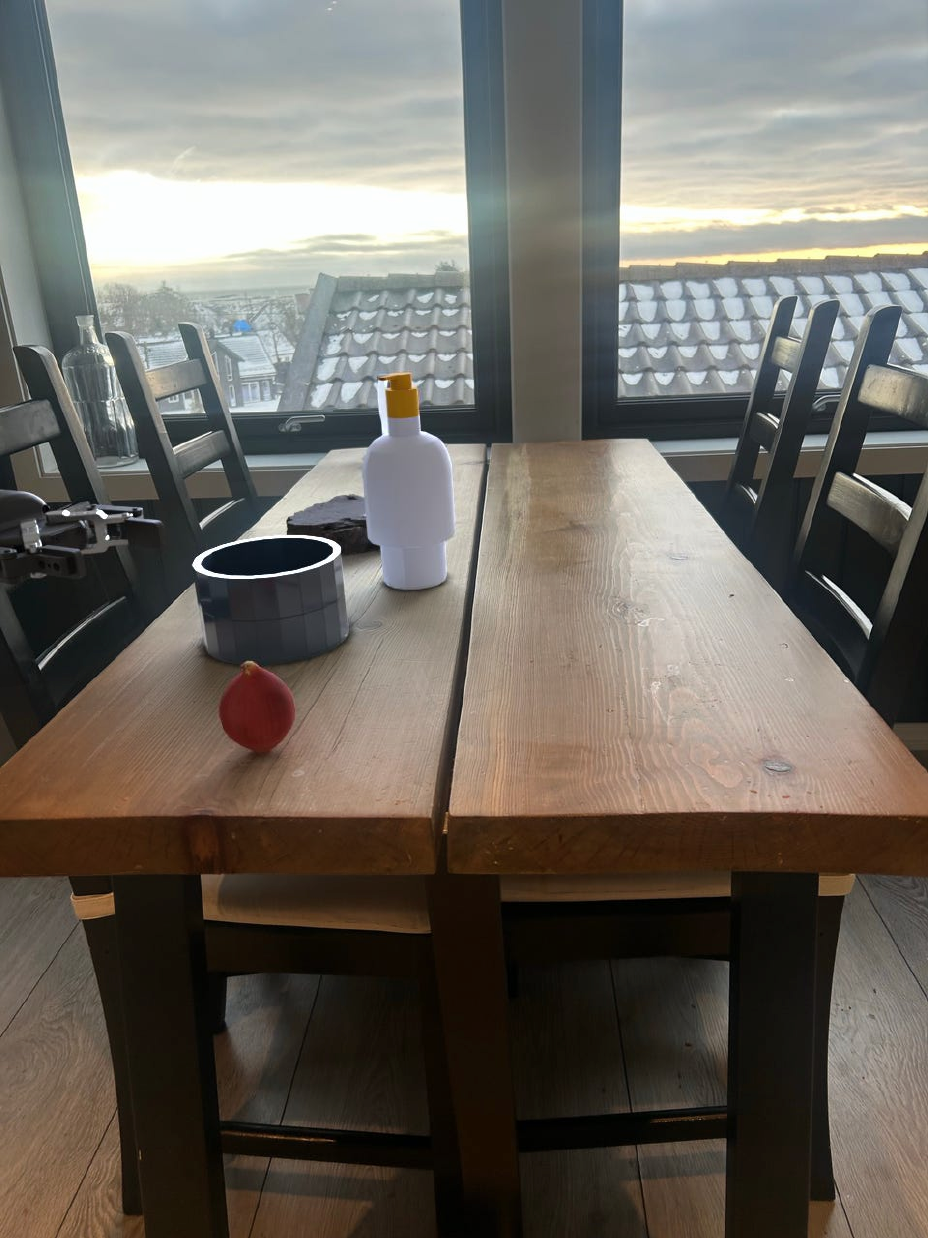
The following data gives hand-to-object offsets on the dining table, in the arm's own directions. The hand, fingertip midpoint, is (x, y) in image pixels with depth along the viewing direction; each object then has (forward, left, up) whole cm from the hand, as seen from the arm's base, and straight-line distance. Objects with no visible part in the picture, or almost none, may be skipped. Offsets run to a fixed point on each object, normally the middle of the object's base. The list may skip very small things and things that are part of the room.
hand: (123, 549), depth 79 cm
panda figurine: (+83, +78, -16) cm, 115 cm away
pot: (+18, +11, -16) cm, 26 cm away
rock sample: (+44, +36, -16) cm, 59 cm away
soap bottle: (+39, +15, -16) cm, 45 cm away
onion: (+4, -10, -16) cm, 20 cm away
